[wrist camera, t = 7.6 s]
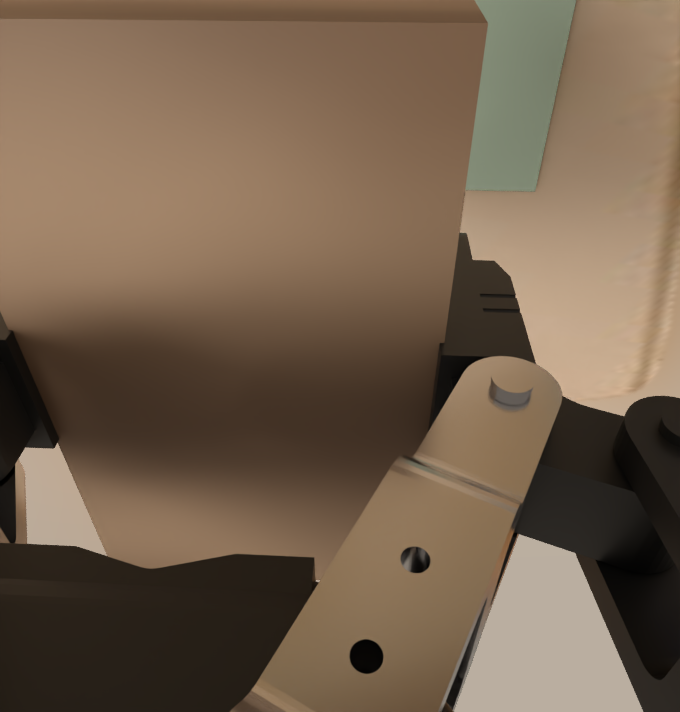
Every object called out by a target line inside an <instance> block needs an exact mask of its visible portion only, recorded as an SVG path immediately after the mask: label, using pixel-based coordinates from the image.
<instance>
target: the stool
mask: <svg viewBox="0 0 680 712" xmlns="http://www.w3.org/2000/svg"><path fill="white" fill-rule="evenodd" d="M487 28H488V22H487V20H486V19H485V17H484V15H483V14H482V12H481V10H480V9H479V7H478V5H477V4H476V2H475V0H0V312H1V314H2V316H3V319H4V321H5V323H6V326H7V328H8V330H13V333H14V335H15V337H16V340H17V342H18V344H19V346H20V349H21V351H22V353H23V356H24V358H25V360H26V363H27V365H28V367H29V370H30V372H31V374H32V376H33V379H34V381H35V383H36V386H37V388H38V390H39V393H40V395H41V397H42V400H43V402H44V404H45V406H46V409H47V411H48V413H49V416H50V418H51V420H52V423H53V425H54V427H55V430H56V432H57V434H58V436H59V440H58V444H59V446H60V449H61V451H62V453H63V455H64V458H65V460H66V462H67V464H68V467H69V469H70V472H71V474H72V476H73V478H74V481H75V483H76V485H77V488H78V490H79V492H80V494H81V497H82V499H83V501H84V503H85V506H86V508H87V510H88V513H89V515H90V517H91V519H92V521H93V524H94V526H95V528H96V531H97V533H98V535H99V537H100V540H101V542H102V545H103V547H104V549H105V551H106V554H107V556H108V557H111V558H114V559H117V560H120V561H123V562H127V563H130V564H133V565H136V566H139V567H143V568H149V569H154V568H161V567H167V566H172V565H177V564H183V563H188V562H194V561H199V560H205V559H210V558H215V557H221V556H226V555H232V554H252V555H274V556H295V557H314V559H315V579H316V580H321V578H322V577H323V575H324V573H325V572H326V570H327V569H328V567H329V565H330V564H331V562H332V561H333V559H334V557H335V556H336V554H337V553H338V551H339V549H340V548H341V546H342V544H343V543H344V541H345V540H346V538H347V536H348V535H349V533H350V532H351V530H352V528H353V527H354V525H355V524H356V522H357V520H358V519H359V517H360V516H361V514H362V512H363V511H364V509H365V507H366V506H367V504H368V503H369V501H370V499H371V498H372V496H373V495H374V493H375V491H376V490H377V488H378V487H379V485H380V483H381V482H382V480H383V478H384V477H385V475H386V474H387V472H388V470H389V469H390V467H391V466H392V464H393V463H394V462H395V461H396V459H397V458H398V457H399V456H401V455H406V456H409V457H411V458H412V457H413V456H414V455H415V453H416V452H417V450H418V448H419V447H420V445H421V443H422V441H423V440H424V438H425V436H426V435H427V433H428V428H429V421H430V413H431V405H432V398H433V390H434V382H435V375H436V367H437V359H438V352H439V344H440V343H444V342H445V334H446V327H447V320H448V312H449V305H450V298H451V291H452V283H453V276H454V269H455V261H456V254H457V247H458V240H459V232H460V225H461V218H462V210H463V203H464V196H465V188H466V181H467V174H468V167H469V159H470V152H471V145H472V137H473V130H474V123H475V116H476V108H477V101H478V94H479V86H480V79H481V72H482V65H483V57H484V50H485V43H486V35H487Z"/></svg>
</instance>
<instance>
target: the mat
mask: <svg viewBox="0 0 680 712" xmlns="http://www.w3.org/2000/svg"><path fill="white" fill-rule="evenodd" d="M475 2H476V4H477V5H478V7H479V9H480V10H481V12H482V14H483V15H484V17H485V19H486V20H487V22H488V28H487V35H486V43H485V50H484V57H483V65H482V72H481V79H480V86H479V94H478V101H477V108H476V116H475V123H474V130H473V137H472V145H471V152H470V159H469V167H468V174H467V181H466V188H465V190H482V191H528V192H535V190H536V185H537V180H538V176H539V171H540V166H541V162H542V157H543V152H544V148H545V143H546V139H547V134H548V129H549V125H550V120H551V115H552V111H553V106H554V101H555V97H556V92H557V87H558V83H559V78H560V73H561V69H562V64H563V60H564V55H565V50H566V46H567V41H568V36H569V32H570V27H571V22H572V18H573V13H574V8H575V4H576V0H475Z"/></svg>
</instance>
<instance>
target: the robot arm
mask: <svg viewBox="0 0 680 712" xmlns="http://www.w3.org/2000/svg"><path fill="white" fill-rule="evenodd" d="M515 295H516V294H515V291H514V288H513V284H512V281H511V277H510V276H509V275H508V274H507V273H506V272H505V271H504V270H503V269H502V268H501V267H500V266H499V265H498V264H497V263H496V262H495V261H482V260H472V255H471V251H470V246H469V241H468V237H467V234H466V233H459V240H458V247H457V254H456V261H455V269H454V276H453V283H452V291H451V298H450V305H449V312H448V320H447V327H446V334H445V342H444V343H440V344H439V352H438V359H437V367H436V375H435V382H434V390H433V398H432V405H431V413H430V421H429V428H428V433H427V435H426V436H425V438H424V440H423V441H422V443H421V445H420V447H419V448H418V450H417V452H416V453H415V455H414V456H413V457H412V458H411V457H409V456H406V455H401V456H399V457H398V458H397V459H396V461H395V462H394V463H393V464H392V466H391V467H390V469H389V470H388V472H387V474H386V475H385V477H384V478H383V480H382V482H381V483H380V485H379V487H378V488H377V490H376V491H375V493H374V495H373V496H372V498H371V499H370V501H369V503H368V504H367V506H366V507H365V509H364V511H363V512H362V514H361V516H360V517H359V519H358V520H357V522H356V524H355V525H354V527H353V528H352V530H351V532H350V533H349V535H348V536H347V538H346V540H345V541H344V543H343V544H342V546H341V548H340V549H339V551H338V553H337V554H336V556H335V557H334V559H333V561H332V562H331V564H330V565H329V567H328V569H327V570H326V572H325V573H324V575H323V577H322V578H321V580H320V582H316V579H315V559H314V557H295V556H274V555H252V554H232V555H226V556H221V557H215V558H210V559H205V560H199V561H194V562H188V563H183V564H177V565H172V566H167V567H161V568H154V569H149V568H143V567H139V566H136V565H133V564H130V563H127V562H123V561H120V560H117V559H114V558H111V557H108V556H105V555H101V554H98V553H95V552H92V551H89V550H86V549H83V548H80V547H76V546H59V545H37V544H27V527H26V526H27V524H26V490H25V472H24V469H23V467H22V465H21V463H20V461H19V457H20V455H21V453H22V452H23V450H24V448H25V447H29V448H55V446H56V444H57V442H58V440H59V436H58V434H57V432H56V430H55V427H54V425H53V423H52V420H51V418H50V416H49V413H48V411H47V409H46V406H45V404H44V402H43V400H42V397H41V395H40V393H39V390H38V388H37V386H36V383H35V381H34V379H33V376H32V374H31V372H30V370H29V367H28V365H27V363H26V360H25V358H24V356H23V353H22V351H21V349H20V346H19V344H18V342H17V340H16V337H15V335H14V333H13V330H8V328H7V326H6V323H5V321H4V319H3V316H2V314H1V312H0V712H454V709H455V707H456V704H457V701H458V698H459V696H460V693H461V691H462V688H463V685H464V683H465V680H466V677H467V675H468V672H469V669H470V666H471V664H472V661H473V658H474V655H475V652H476V649H477V646H478V643H479V640H480V638H481V635H482V632H483V629H484V626H485V623H486V621H487V618H488V615H489V613H490V610H491V607H492V604H493V602H494V599H495V596H496V594H497V591H498V589H499V586H500V583H501V580H502V578H503V575H504V573H505V570H506V567H507V565H508V562H509V559H510V556H511V554H512V551H513V549H514V546H515V543H516V540H517V538H518V535H519V534H521V535H524V536H527V537H530V538H533V539H536V540H539V541H542V542H544V543H547V544H551V545H553V546H556V547H559V548H563V549H565V550H568V551H571V552H575V553H576V556H577V558H578V561H579V563H580V565H581V568H582V570H583V572H584V575H585V577H586V579H587V581H588V584H589V586H590V589H591V591H592V593H593V595H594V598H595V600H596V602H597V605H598V607H599V609H600V612H601V614H602V616H603V619H604V621H605V623H606V626H607V628H608V630H609V633H610V635H611V637H612V640H613V642H614V644H615V647H616V649H617V651H618V653H619V656H620V658H621V660H622V663H623V665H624V667H625V670H626V672H627V674H628V677H629V679H630V681H631V684H632V686H633V688H634V691H635V693H636V695H637V698H638V700H639V702H640V705H641V707H642V709H643V712H680V398H676V397H669V396H653V397H647V398H643V399H640V400H638V401H636V402H634V403H633V404H632V405H631V406H630V407H629V409H628V410H627V412H626V414H625V416H620V415H617V414H612V413H609V412H605V411H601V410H598V409H594V408H590V407H587V406H584V405H580V404H578V403H576V402H573V401H571V400H569V399H567V398H565V397H563V396H562V392H561V388H560V386H559V384H558V382H557V381H556V380H555V379H554V377H553V376H552V375H551V374H550V373H548V372H547V371H546V370H545V369H543V368H542V367H540V366H538V365H536V363H535V359H534V356H533V352H532V349H531V346H530V342H529V339H528V335H527V332H526V328H525V325H524V322H523V318H522V315H521V313H520V308H519V305H518V301H517V298H515Z"/></svg>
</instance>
